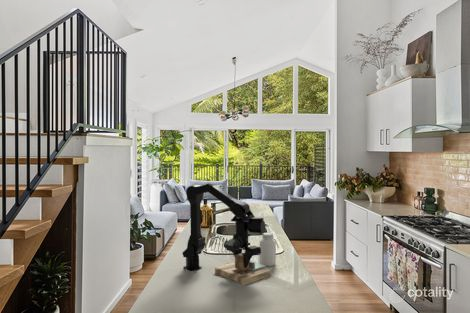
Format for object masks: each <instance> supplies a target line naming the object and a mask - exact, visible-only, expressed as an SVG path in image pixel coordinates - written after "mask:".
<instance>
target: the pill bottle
mask: <svg viewBox="0 0 470 313" xmlns="http://www.w3.org/2000/svg"><path fill="white" fill-rule="evenodd" d="M261 237H262V238H261V239H260V240H259V247H260V248H261V254H259V264H262V265H265V266H266V267H272V266H275V265H276V263H277V258H276V257H277V253H276V252H277V248H276V245H277V243H276V240H275V239H274V234H273V233H272V232H264V234H261Z"/></svg>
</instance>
